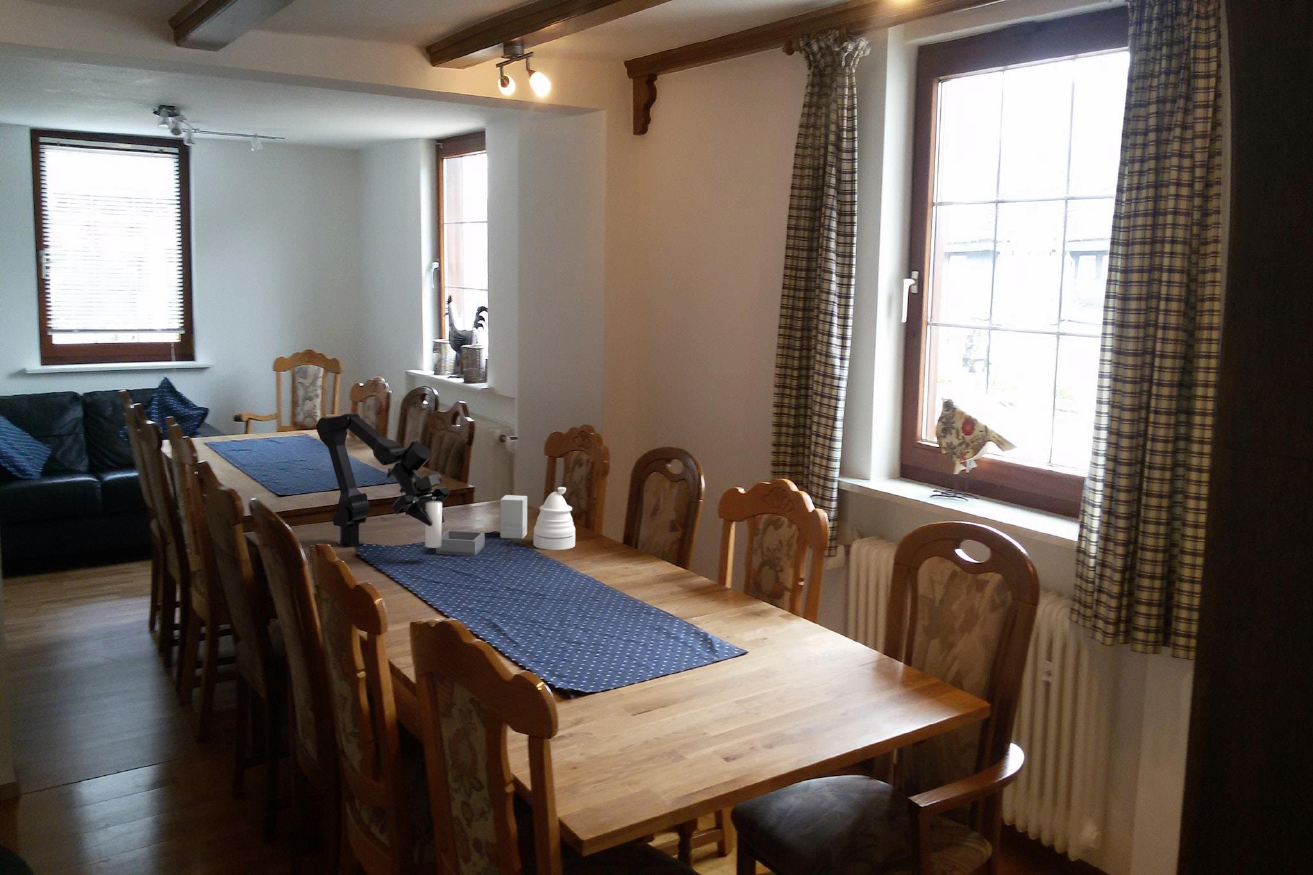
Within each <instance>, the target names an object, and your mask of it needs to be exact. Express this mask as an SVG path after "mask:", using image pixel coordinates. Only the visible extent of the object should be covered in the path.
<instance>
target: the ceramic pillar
mask: <svg viewBox="0 0 1313 875" xmlns="http://www.w3.org/2000/svg"><path fill="white" fill-rule="evenodd" d="M424 509H425V511H426V513H427V514H428V516H429V518H430V520H431V522H432V525H431V526H428V525H426V524H425V523H424V527H425V528H424V529H425V531H424V532H425V533H424V534H425V535H424V540H425V542H424V543H425V544H424V546H425V547H426V548H431V549H432V548H433V549H436V548H438V547H441V546H442V534H443V533H442V532H443V523H442V512H443V502H439V501H429V502H425V508H424Z"/></svg>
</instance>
